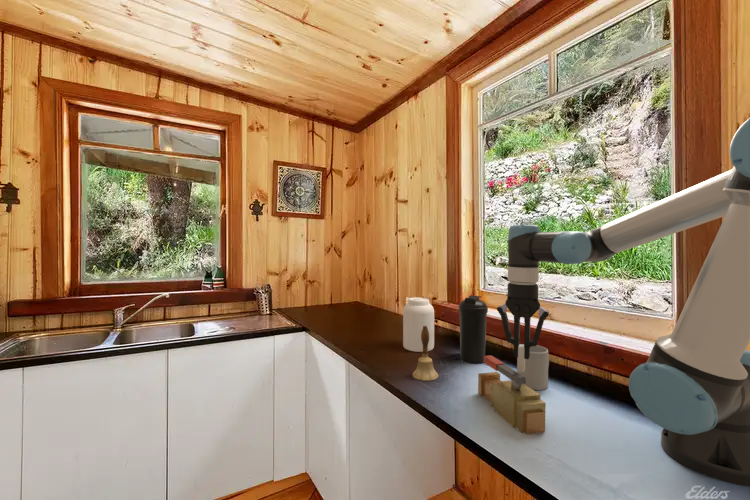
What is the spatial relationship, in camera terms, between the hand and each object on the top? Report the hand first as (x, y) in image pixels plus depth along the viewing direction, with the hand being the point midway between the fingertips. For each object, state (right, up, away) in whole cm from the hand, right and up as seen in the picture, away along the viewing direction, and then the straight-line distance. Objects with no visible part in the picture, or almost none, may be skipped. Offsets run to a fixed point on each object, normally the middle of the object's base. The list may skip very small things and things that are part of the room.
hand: (521, 369), depth 89 cm
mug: (+9, -8, +12) cm, 17 cm away
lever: (-6, -2, -3) cm, 7 cm away
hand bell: (-23, -8, +17) cm, 30 cm away
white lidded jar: (-22, -8, +45) cm, 50 cm away
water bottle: (-4, -8, +31) cm, 32 cm away
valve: (-5, -9, -5) cm, 11 cm away
